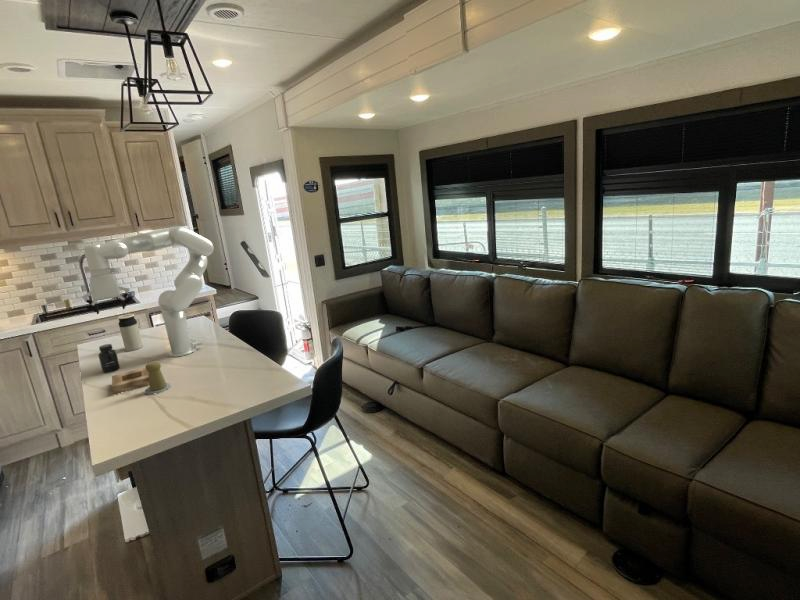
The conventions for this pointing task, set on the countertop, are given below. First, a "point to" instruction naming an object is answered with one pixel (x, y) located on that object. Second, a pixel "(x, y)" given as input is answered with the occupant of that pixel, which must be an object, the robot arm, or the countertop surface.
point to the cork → (155, 376)
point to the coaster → (156, 391)
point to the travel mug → (130, 332)
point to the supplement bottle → (108, 358)
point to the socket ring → (130, 380)
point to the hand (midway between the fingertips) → (111, 310)
